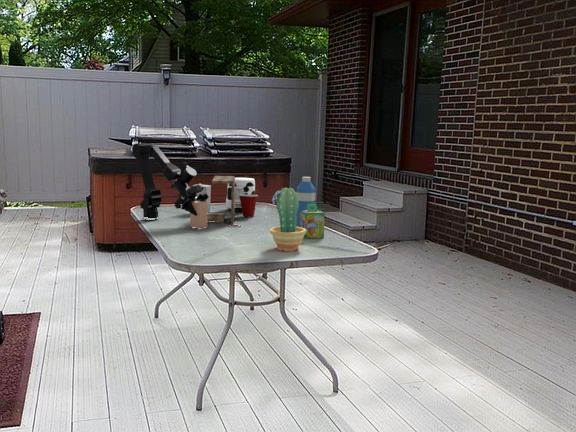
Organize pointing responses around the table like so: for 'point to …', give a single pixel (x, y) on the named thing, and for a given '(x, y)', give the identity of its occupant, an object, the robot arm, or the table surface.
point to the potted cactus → (287, 221)
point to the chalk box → (312, 222)
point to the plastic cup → (248, 204)
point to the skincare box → (207, 191)
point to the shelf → (231, 181)
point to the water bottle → (305, 196)
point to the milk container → (240, 191)
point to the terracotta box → (199, 214)
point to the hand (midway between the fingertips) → (201, 214)
